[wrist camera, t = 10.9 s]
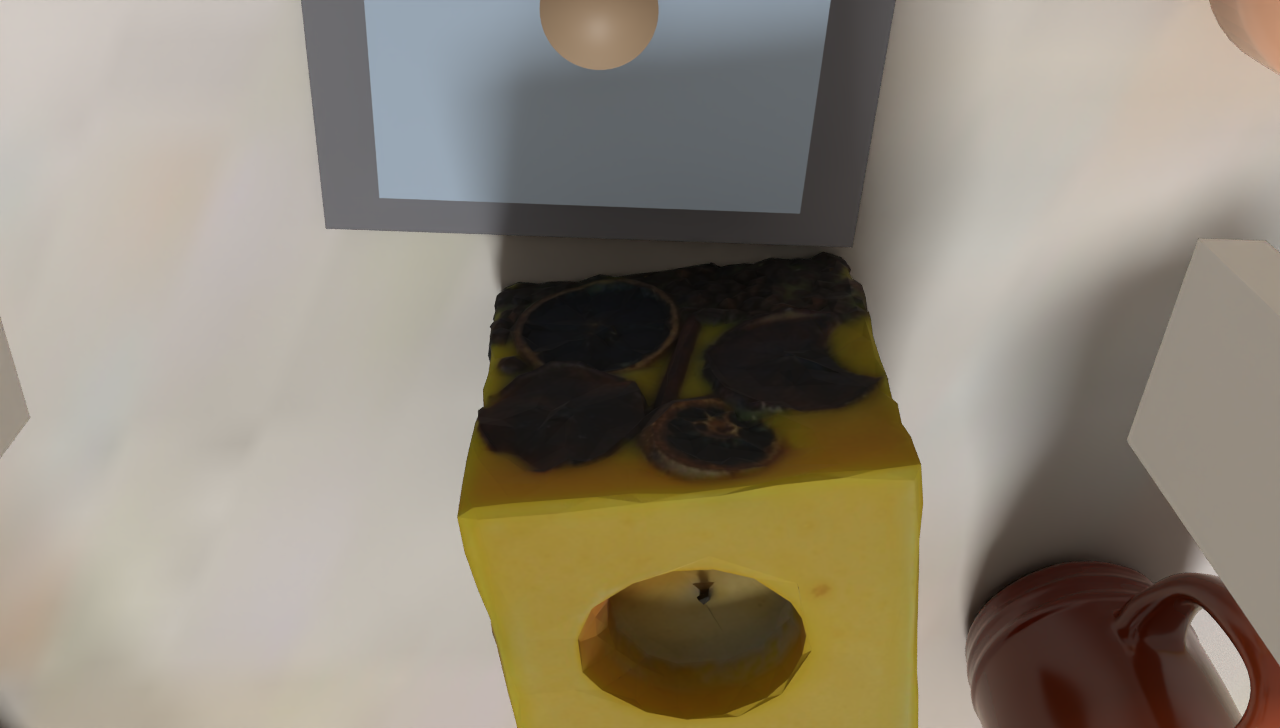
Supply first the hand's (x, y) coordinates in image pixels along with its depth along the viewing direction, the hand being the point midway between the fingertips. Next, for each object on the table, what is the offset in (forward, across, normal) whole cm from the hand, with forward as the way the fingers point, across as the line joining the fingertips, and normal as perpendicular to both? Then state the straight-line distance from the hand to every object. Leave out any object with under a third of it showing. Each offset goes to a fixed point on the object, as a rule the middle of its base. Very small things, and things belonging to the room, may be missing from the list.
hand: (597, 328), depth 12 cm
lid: (+16, 0, 0) cm, 16 cm away
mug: (+17, +17, -20) cm, 31 cm away
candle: (+17, +3, -13) cm, 21 cm away
